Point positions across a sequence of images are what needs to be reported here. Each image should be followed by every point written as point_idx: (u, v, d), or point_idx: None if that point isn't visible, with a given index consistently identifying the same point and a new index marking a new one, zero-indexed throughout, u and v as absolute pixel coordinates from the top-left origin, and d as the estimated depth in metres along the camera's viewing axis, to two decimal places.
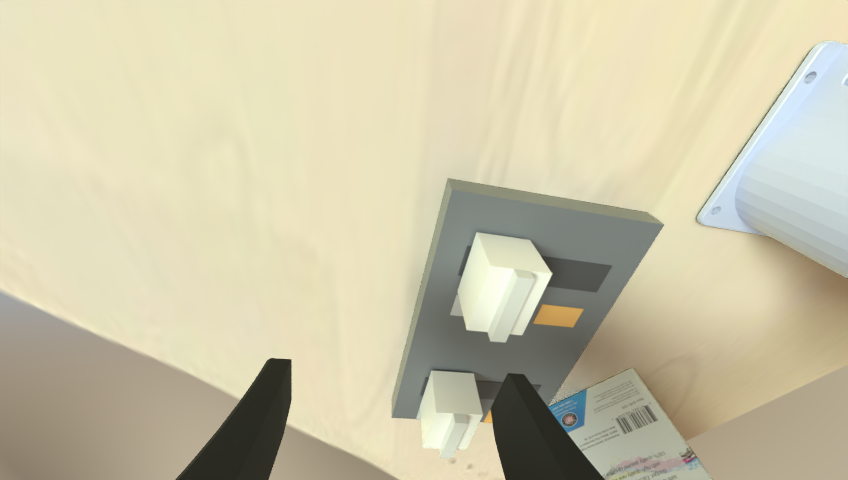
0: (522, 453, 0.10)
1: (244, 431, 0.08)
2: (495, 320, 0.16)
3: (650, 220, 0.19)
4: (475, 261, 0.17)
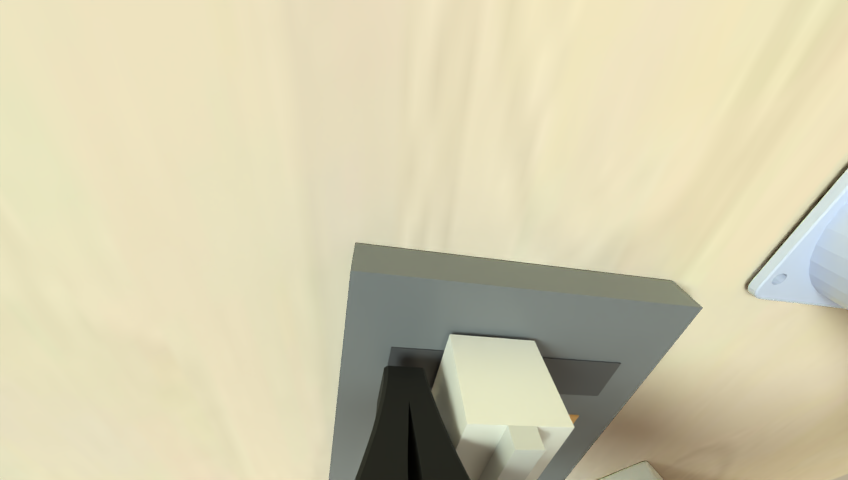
0: None
1: (395, 435, 0.08)
2: None
3: (680, 299, 0.12)
4: (446, 384, 0.11)
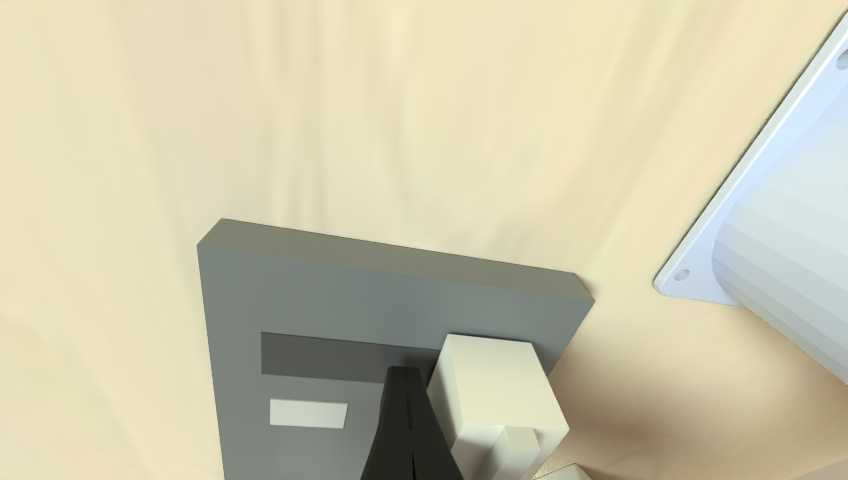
0: None
1: (400, 435, 0.08)
2: None
3: (573, 291, 0.11)
4: (443, 383, 0.11)
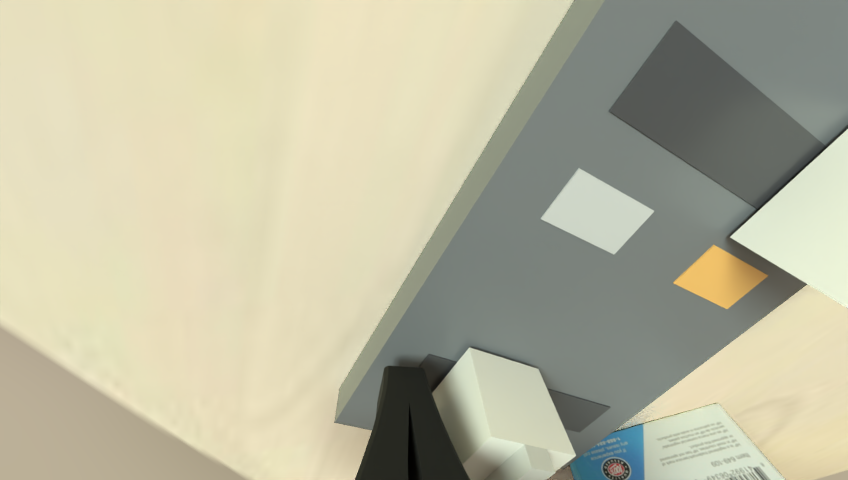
0: None
1: (396, 435, 0.08)
2: None
3: None
4: None
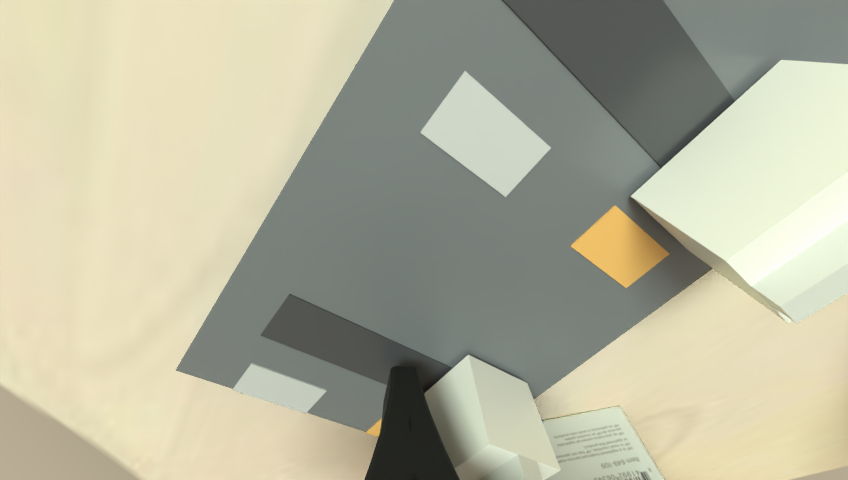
0: None
1: (404, 436, 0.08)
2: (820, 256, 0.06)
3: None
4: (779, 110, 0.07)
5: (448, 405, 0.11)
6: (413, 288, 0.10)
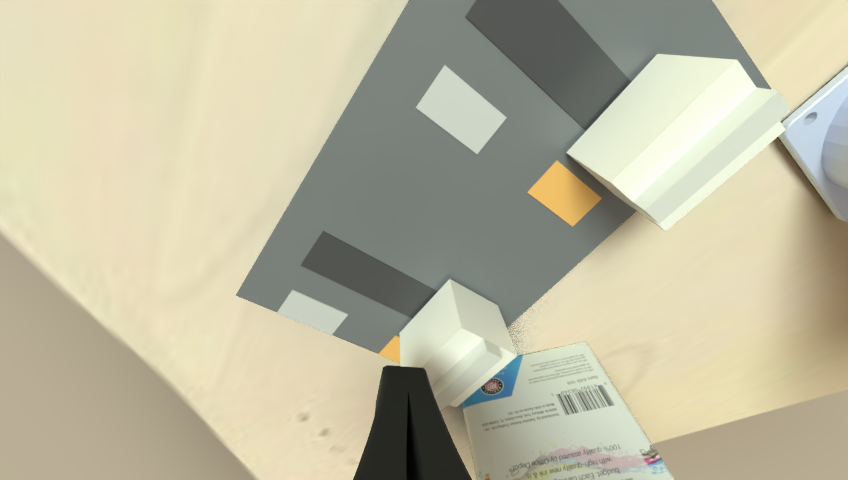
0: (406, 451, 0.09)
1: (394, 435, 0.08)
2: (667, 177, 0.10)
3: (754, 76, 0.12)
4: (651, 87, 0.11)
5: (434, 315, 0.15)
6: (413, 226, 0.14)
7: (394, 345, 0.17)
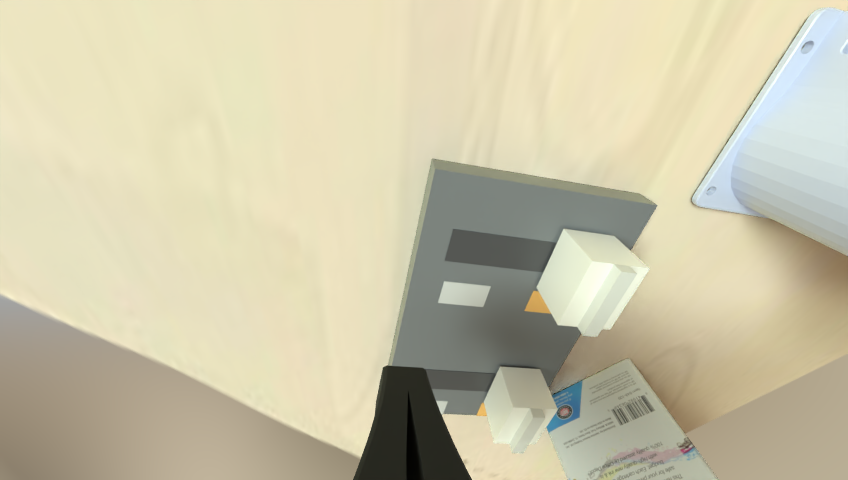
0: (406, 451, 0.09)
1: (394, 435, 0.08)
2: (588, 315, 0.17)
3: (643, 200, 0.18)
4: (564, 257, 0.17)
5: (498, 393, 0.23)
6: (464, 349, 0.22)
7: (484, 408, 0.26)
